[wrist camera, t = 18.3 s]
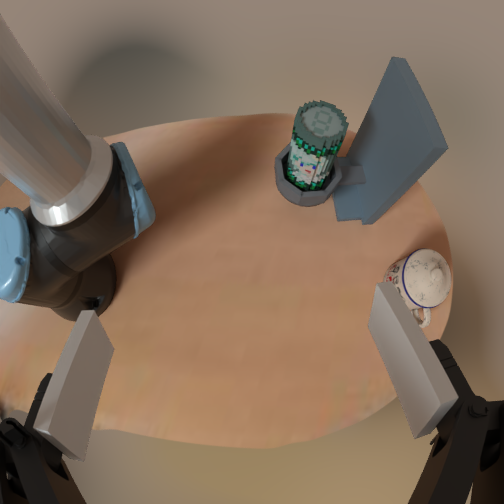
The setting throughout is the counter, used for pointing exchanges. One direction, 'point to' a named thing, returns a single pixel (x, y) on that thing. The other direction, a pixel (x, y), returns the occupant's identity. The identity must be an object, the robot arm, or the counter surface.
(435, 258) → the teacup with lid
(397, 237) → the counter surface
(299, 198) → the cup bracket
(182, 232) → the counter surface
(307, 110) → the can
